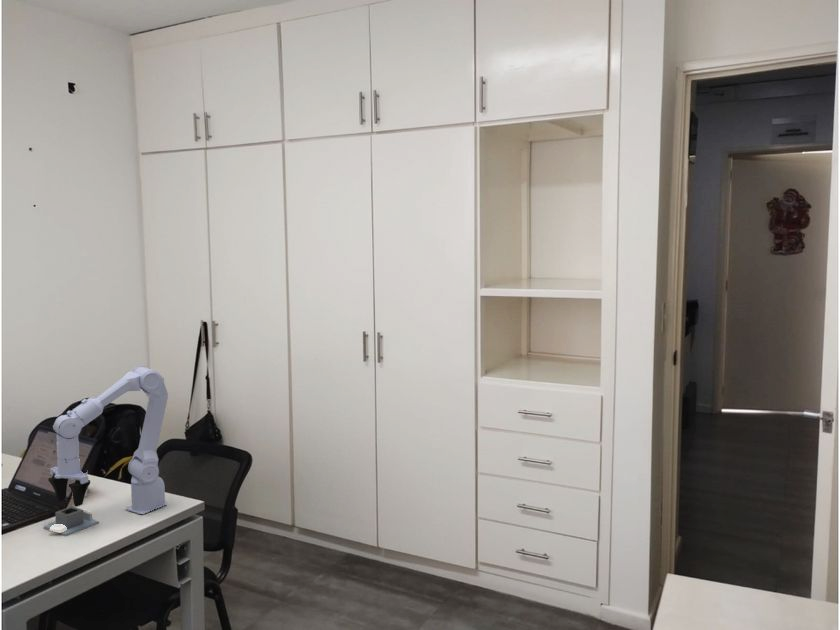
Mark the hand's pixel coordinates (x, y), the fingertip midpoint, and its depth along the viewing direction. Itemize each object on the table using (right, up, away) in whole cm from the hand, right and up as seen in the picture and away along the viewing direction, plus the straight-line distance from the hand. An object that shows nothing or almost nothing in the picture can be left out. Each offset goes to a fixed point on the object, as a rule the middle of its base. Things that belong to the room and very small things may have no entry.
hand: (70, 502), depth 202 cm
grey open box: (0, -6, +1) cm, 7 cm away
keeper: (0, -7, +1) cm, 7 cm away
